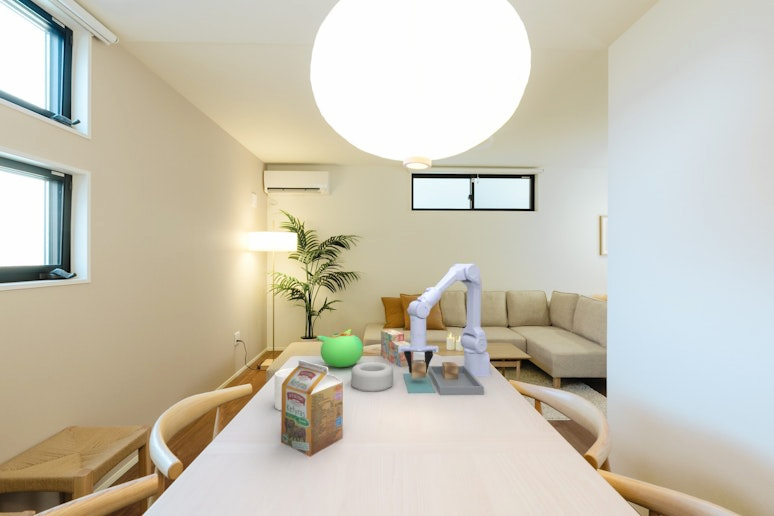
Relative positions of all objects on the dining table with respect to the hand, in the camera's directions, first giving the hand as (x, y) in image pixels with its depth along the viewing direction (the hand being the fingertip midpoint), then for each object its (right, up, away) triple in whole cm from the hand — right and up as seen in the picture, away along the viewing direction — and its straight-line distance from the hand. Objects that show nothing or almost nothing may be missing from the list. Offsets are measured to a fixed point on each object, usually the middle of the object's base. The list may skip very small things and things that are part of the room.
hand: (418, 372), depth 128 cm
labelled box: (0, -1, 0) cm, 1 cm away
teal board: (0, -4, 0) cm, 4 cm away
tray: (+13, -5, +1) cm, 14 cm away
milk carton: (-30, -4, -40) cm, 50 cm away
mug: (-40, -4, -21) cm, 45 cm away
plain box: (+13, -4, +7) cm, 15 cm away
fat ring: (-17, -5, -1) cm, 17 cm away
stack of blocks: (-7, -5, +30) cm, 31 cm away
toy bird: (-30, -5, +22) cm, 38 cm away
